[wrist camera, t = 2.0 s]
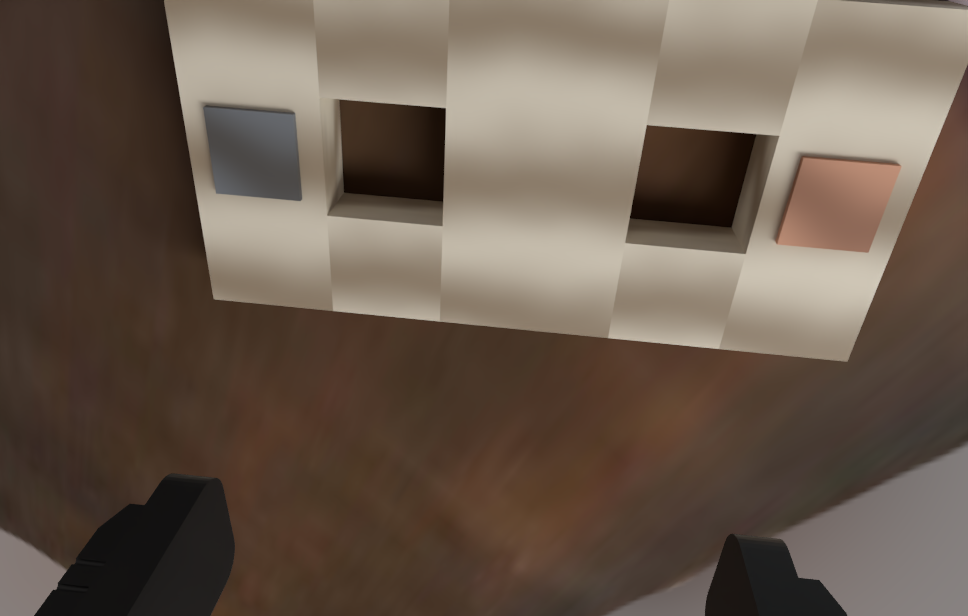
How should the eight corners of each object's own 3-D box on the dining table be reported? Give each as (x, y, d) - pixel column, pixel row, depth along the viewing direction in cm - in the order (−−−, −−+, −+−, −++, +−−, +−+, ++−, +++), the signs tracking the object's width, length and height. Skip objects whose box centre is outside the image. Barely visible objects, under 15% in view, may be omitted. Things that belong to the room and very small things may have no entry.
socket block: (190, -55, 30) (151, -50, 27) (949, 1, 28) (993, 12, 25) (237, 272, 38) (211, 301, 35) (826, 328, 36) (849, 365, 34)
